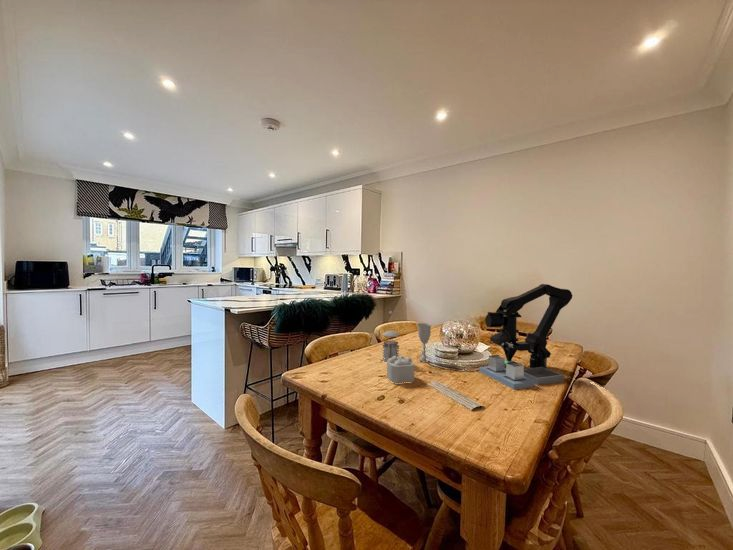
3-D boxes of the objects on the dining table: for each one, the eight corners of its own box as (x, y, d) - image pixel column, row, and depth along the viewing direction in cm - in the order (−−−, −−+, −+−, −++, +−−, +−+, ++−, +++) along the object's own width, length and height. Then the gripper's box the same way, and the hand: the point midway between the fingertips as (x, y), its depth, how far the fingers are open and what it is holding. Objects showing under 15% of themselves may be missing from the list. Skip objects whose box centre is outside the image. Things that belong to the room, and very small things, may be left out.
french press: (400, 359, 152) (401, 309, 151) (401, 367, 140) (401, 313, 139) (381, 358, 153) (381, 309, 152) (379, 366, 141) (380, 312, 140)
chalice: (427, 364, 144) (427, 326, 144) (414, 361, 149) (414, 324, 148) (433, 360, 150) (434, 324, 150) (421, 357, 154) (421, 322, 154)
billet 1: (497, 373, 132) (497, 354, 132) (504, 376, 128) (504, 357, 128) (488, 374, 131) (488, 355, 131) (495, 378, 127) (496, 358, 127)
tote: (541, 373, 132) (541, 366, 132) (564, 382, 122) (564, 375, 122) (516, 376, 128) (516, 369, 128) (537, 386, 118) (537, 378, 118)
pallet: (497, 370, 136) (497, 365, 136) (534, 387, 117) (534, 381, 117) (478, 372, 133) (479, 367, 133) (513, 390, 114) (513, 384, 114)
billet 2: (514, 381, 123) (515, 361, 123) (523, 385, 119) (523, 365, 118) (505, 383, 122) (506, 362, 121) (514, 387, 117) (514, 366, 117)
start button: (508, 365, 140) (509, 359, 140) (515, 368, 136) (515, 362, 136) (501, 366, 139) (501, 360, 139) (508, 369, 135) (508, 362, 135)
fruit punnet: (391, 385, 119) (391, 363, 119) (383, 373, 132) (383, 353, 132) (416, 383, 121) (417, 361, 121) (406, 372, 134) (406, 352, 134)
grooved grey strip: (427, 386, 119) (427, 382, 119) (441, 384, 122) (441, 379, 122) (471, 413, 98) (471, 407, 98) (487, 409, 101) (487, 403, 101)
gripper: (480, 324, 144) (480, 356, 144) (510, 332, 126) (509, 369, 126) (500, 322, 147) (499, 354, 147) (531, 330, 129) (531, 367, 130)
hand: (508, 361), depth 138 cm, fingers closed, pressing on start button
